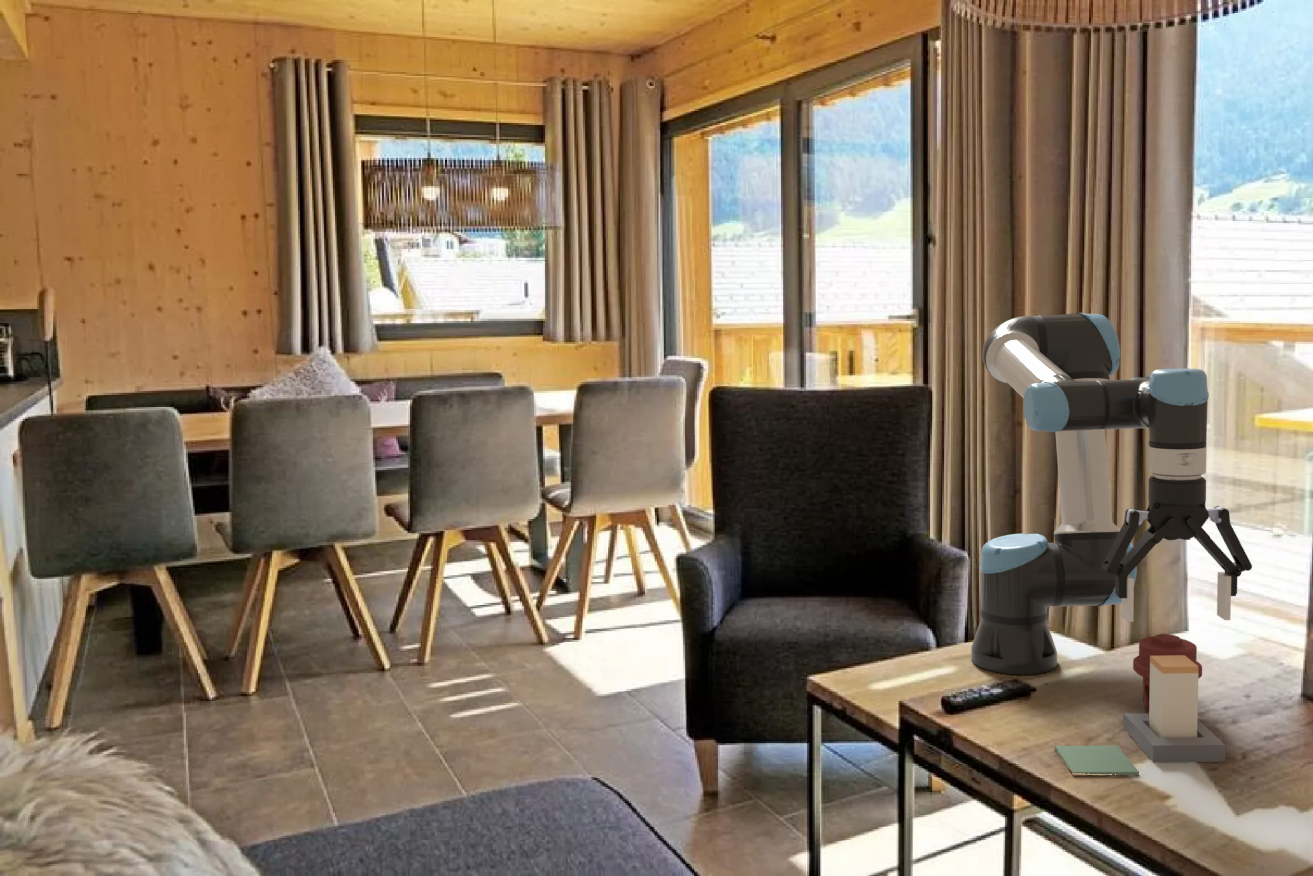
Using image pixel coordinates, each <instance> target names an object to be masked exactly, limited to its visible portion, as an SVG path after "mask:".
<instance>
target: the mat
mask: <svg viewBox="0 0 1313 876" xmlns="http://www.w3.org/2000/svg"><path fill="white" fill-rule="evenodd" d="M1055 749H1056V751H1057V752H1058V753H1059V755H1060V756H1061V758H1062V759H1063V760H1064V762H1066V764H1067V766H1068V767H1069V768H1070V769H1071V771H1072V772H1073V773H1082V774H1083V773H1085V774H1088V773H1089V774H1107V775H1108V774H1112V775H1115V774H1116V775H1139V776H1140V771H1139V770H1138V768H1137V767H1136V766H1135V765H1134V764H1133V763H1132V761H1131V760H1130V759H1129V758H1128V757H1127V756H1126V754H1125V753H1124V752H1123V751H1122V750H1121V748H1120V747H1119V745H1054V750H1055ZM1056 751H1055V752H1056ZM1057 752H1056V753H1057ZM1059 755H1058V756H1059ZM1060 756H1059V757H1060ZM1061 758H1060V759H1061ZM1062 759H1061V760H1062ZM1064 762H1063V763H1064Z"/></svg>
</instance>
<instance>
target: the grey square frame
mask: <svg viewBox="0 0 1313 876" xmlns="http://www.w3.org/2000/svg"><path fill="white" fill-rule="evenodd" d="M1124 729H1125V730H1126V731H1127V732H1128V733H1127V732H1126V731H1125V730H1124ZM1123 730H1124V731H1125V732H1126V733H1127V734H1128V736H1129V735H1130V736H1131V737H1132V738H1133V739H1134V740H1135V741H1136V742H1135V741H1134V740H1133V739H1132V738H1131V737H1130V736H1129V737H1130V738H1131V739H1132V740H1133V741H1134V742H1135V743H1137V744H1139V746H1140V747H1141V748H1140V747H1139V746H1138V747H1139V748H1140V749H1141V750H1142V749H1143V750H1142V751H1143V752H1145V753H1146V754H1147V755H1148V756H1147V755H1146V754H1145V753H1144V754H1145V755H1146V756H1147V757H1148V759H1150V758H1151V759H1150V760H1152V761H1153V762H1152V761H1151V762H1152V763H1205V762H1207V763H1210V762H1213V763H1214V762H1215V763H1220V762H1222V763H1223V762H1226V744H1225V743H1224V742H1223V741H1222V740H1221V739H1220V738H1218V736H1216V735H1215V733H1213V732H1212V731H1211V730H1210V729H1209V728H1208V727H1207V726H1206V725H1204V723H1202V722H1201V721H1200V720H1199V719H1198V718H1197V737H1190V738H1158V737H1157V736H1156V735H1155V734H1154V733H1153V731H1152V730H1151V729H1150V728H1149V713H1123ZM1137 744H1136V745H1137Z"/></svg>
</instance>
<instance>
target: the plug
mask: <svg viewBox="0 0 1313 876" xmlns="http://www.w3.org/2000/svg"><path fill="white" fill-rule="evenodd" d="M1198 668H1199V666H1197V665H1196V664H1195V663H1194V662H1192V661H1191V660H1190V659H1189V658H1187V657H1186V656H1185V655H1167V656H1150V698H1149V709H1148V712H1149V713H1148V714H1149V728H1150V729H1151V730H1152V731H1153V733H1154V734H1155V735H1156V736H1157V737H1158V738H1190V737H1197V719H1198V717H1199V716H1198V708H1199V707H1198V706H1199V679H1198Z"/></svg>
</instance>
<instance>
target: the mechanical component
mask: <svg viewBox="0 0 1313 876" xmlns="http://www.w3.org/2000/svg"><path fill="white" fill-rule="evenodd" d="M1197 649H1198V647H1197V645H1196V644H1195V643H1194V642H1191V641H1189V640H1188V639H1184V638H1181V637H1180V636H1178V635H1176V634H1175V635H1174V634H1171V633H1170V634H1169V633H1168V634H1167V633H1162V634H1161V633H1160V634H1155V635H1153V636H1147V637H1144V638H1141V639H1140V640H1139V641H1138V655H1137V656H1136V657H1134V658H1133V659H1132V668H1133V671H1134V672H1135V673H1136V674H1138V675H1139V676H1141V677H1142V700H1143V702H1144V708H1145V709H1147V710H1149V698H1150V656H1167V655H1185V656H1186V657H1187V658H1189V659H1190V660H1191V661H1192V662H1194V663H1195V664H1196V665H1197V666H1199V668H1198V680H1199V679H1200V678H1201V677H1202V676H1203V666H1202V664H1201V663H1200V662H1199V661H1197V659H1198V658H1197V656H1198V655H1197V652H1198V650H1197Z"/></svg>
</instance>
